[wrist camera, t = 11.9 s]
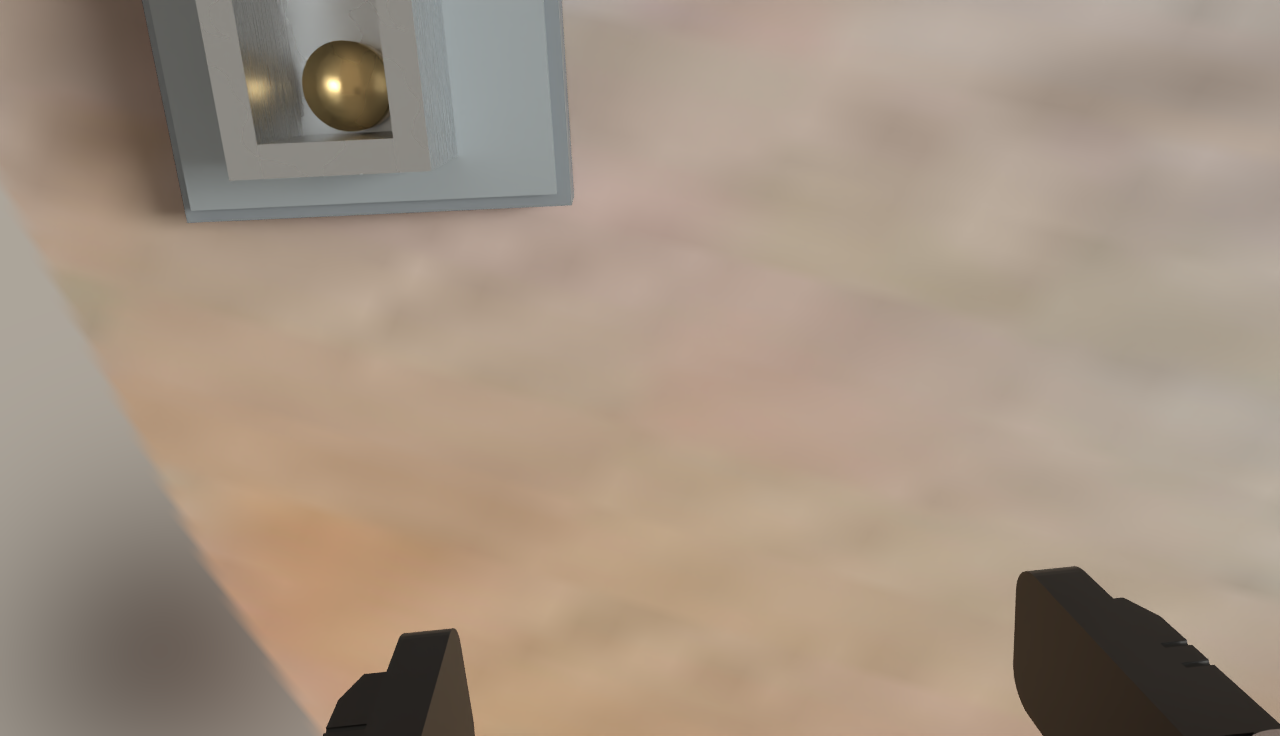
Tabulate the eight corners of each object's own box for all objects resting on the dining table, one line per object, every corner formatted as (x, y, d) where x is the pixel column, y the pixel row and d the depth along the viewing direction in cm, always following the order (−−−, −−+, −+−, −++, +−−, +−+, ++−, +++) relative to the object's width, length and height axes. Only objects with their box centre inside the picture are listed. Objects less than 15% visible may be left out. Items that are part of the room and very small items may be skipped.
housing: (423, -167, 28) (385, -216, 23) (458, 156, 31) (431, 171, 26) (233, -160, 28) (156, -206, 23) (287, 164, 31) (229, 180, 26)
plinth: (573, 196, 35) (571, 207, 32) (215, 212, 34) (179, 225, 32) (547, -216, 30) (541, -246, 27) (135, -201, 30) (85, -229, 27)
